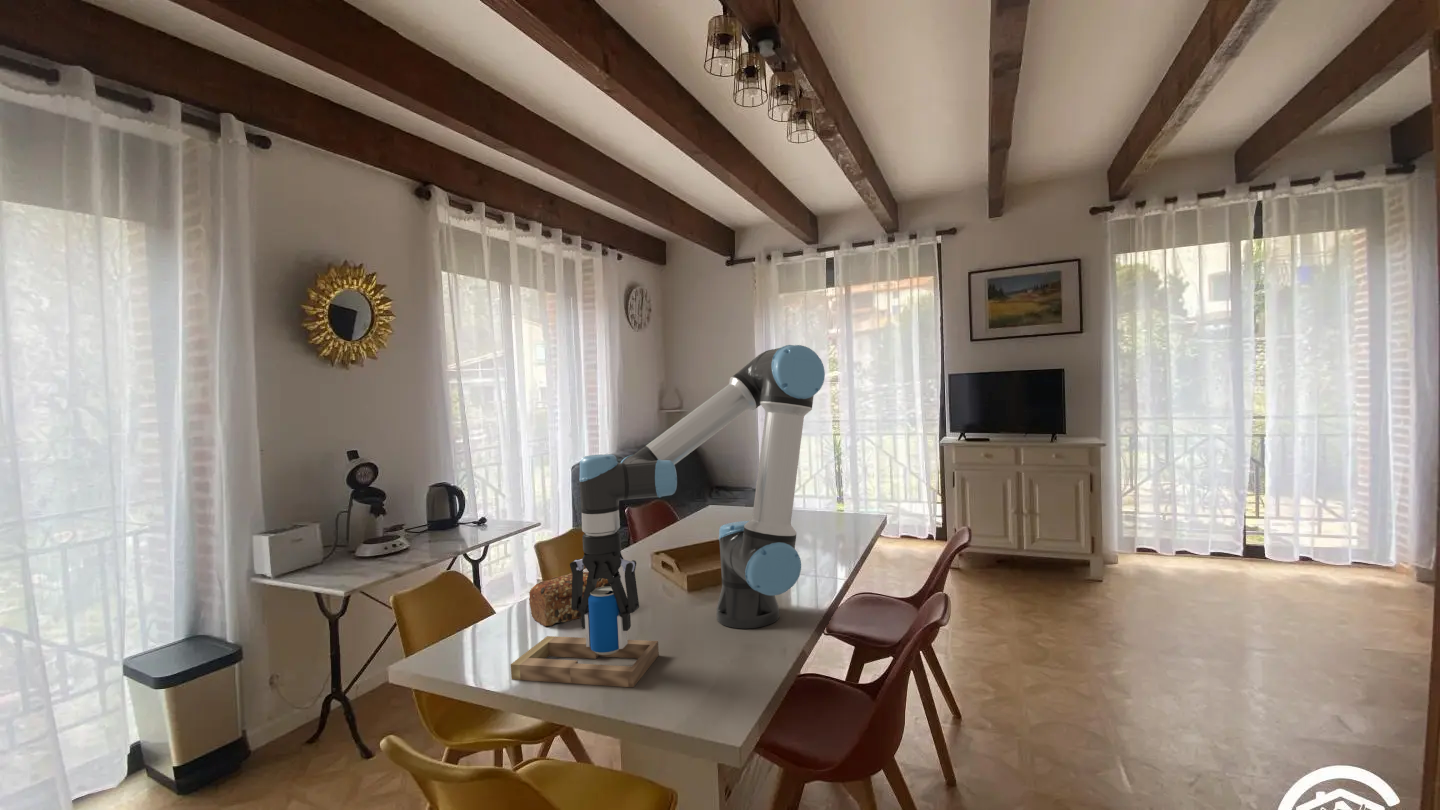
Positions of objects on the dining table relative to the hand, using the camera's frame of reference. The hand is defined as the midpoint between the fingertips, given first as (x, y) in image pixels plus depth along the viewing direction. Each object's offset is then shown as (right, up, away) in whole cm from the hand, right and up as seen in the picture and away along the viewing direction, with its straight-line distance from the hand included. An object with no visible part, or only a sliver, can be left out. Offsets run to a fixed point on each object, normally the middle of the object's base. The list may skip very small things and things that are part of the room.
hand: (607, 644), depth 123 cm
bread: (-15, -6, +34) cm, 37 cm away
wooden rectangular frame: (-4, -5, +1) cm, 7 cm away
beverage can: (0, -1, 0) cm, 1 cm away
